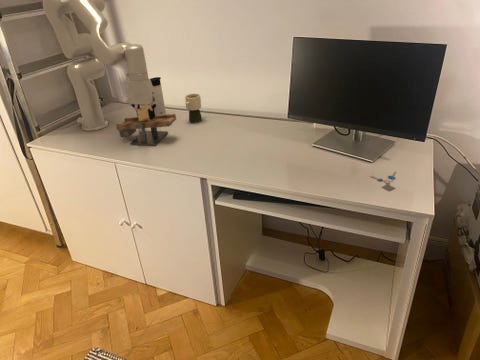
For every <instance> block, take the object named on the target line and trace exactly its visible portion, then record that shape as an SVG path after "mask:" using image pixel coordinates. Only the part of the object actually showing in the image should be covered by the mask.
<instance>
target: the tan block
mask: <svg viewBox="0 0 480 360" xmlns="http://www.w3.org/2000/svg"><path fill="white" fill-rule="evenodd" d="M149 111H150V109H149V107H148V105H140V107H139V108H138V109H137V112H136V114H137V113H138V116H137V117H138V118H139V122H151V121H153V120H154V119H155V118H154V119H152V120H151V119H150V114H149Z"/></svg>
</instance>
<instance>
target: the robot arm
mask: <svg viewBox="0 0 480 360" xmlns="http://www.w3.org/2000/svg"><path fill="white" fill-rule="evenodd" d="M42 8H43V13H44V14H45V16H46V18H47V20H48V21H49V23H50V24H51V26H52V27H53V30H54V33H55V35H56V38H57V40H58V43H59V45H60V49H61V51H62V53H63V55H64V56H65V57H66V58H67V59H71V60H72V59H74V60H75V59H79V58H82V57H86V58H85V59H80V60H76V61H73V62H71V63H70V64H69V65H68V66H67V68H66V74H67V76H68V78H69V80H70V82H71V85H72V86H73V89H74V93H75V96H76V100H77V103H78V106H79V107H78V108H79V111H80V114H81V117H78V118H77V123H79V124H82V125H81V129H82V130H83V131H85V132H92V131H98V130H99V131H100V130H102V129H104V128H107V127H108V125H109V121H108V120H106V119H105V118H104V113H103V111H102V106H101V102H100V98H99V95H98V92H97V91H98V90H97V89H96V87H95V86H94V85H93V84H92V83H91V82H90V81H93V80H96V79H99V78H101V77H103V76H104V75H105V74H106V67H105V65H106V66H110V67H114V66H118V65H120V64H124V63H126V68H127V72H128V73H126V78H128V81H127V87H128V97H129V98H128V99H127V101H126V102H127V104H129V105H130V106H131V107H132V108H133V109H134V111H136V112H135V113H136V117H138V113H137V109H138V108H139V107H141V106H148V107H149V109H150V111H149V114H150V119H151V120H152V119H154V118H155V111H154V109H155V107H156V106H157V105H158V104H159V103H160V101H159V100H158V99H157V97H156V96H155V93H154V89H153V86H152V83H151V80H150V79H151V78H149V74H148V67H147V63H146V62H147V61H146V57H145V51H144V47H143V45H142V44H138V43H135V44H133V43H129V42H120V43H115V44H112V45H107V43H105V41H104V40H103V38H102V37H101V34H102V33H104V32H105V31H106V29H107V27H108V23H109V21H108V19H107V18H106V16H105V15H104V14H103V13H102V12H103V11H104V10H105V8H106V4H105V0H42ZM73 13H74V14H75V15H76V17H77V18H78V19H79V20H80V21H81V23H82V24H83V25H84V26H85V27H86V29H87V30H88V31H89V33H87V32H83V33H78V32H77V30H76V27H75V25H74V23H73V22H72V20H71V19H70V18H69V17H68V16H66V15H67V14H73ZM154 101H155V104H153V102H154ZM138 119H139V118H138Z"/></svg>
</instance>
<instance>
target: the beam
mask: <svg viewBox="0 0 480 360" xmlns="http://www.w3.org/2000/svg"><path fill="white" fill-rule="evenodd" d="M123 120H124V121H123V122H122V123H117V124H115V127H116V130H117V131H118V132H119V135H120V139H123V138H125V139H126V138H130V137H132V136H133V134H135V133H136V132H137V129H138V125H137V124H138V123H144V127H145V129H151V128H153V127H157V128H163V127H165V128H167V127H170V126H171V125H172V124H173V123H174V122H175V121H177V116H176V113H173V114H166V115H156V116H155V119H154V120H153V121H151V122H139V119H138V116H132V117H125V118H124V119H123Z"/></svg>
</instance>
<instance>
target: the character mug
mask: <svg viewBox="0 0 480 360" xmlns="http://www.w3.org/2000/svg"><path fill="white" fill-rule="evenodd" d="M184 97H185V108H186V110H189V111H188V121H189V122H190V123H199V122H202V121H203V120H202V119H203V117H202V114H201V110H200V109H201V108H202V100H201V99H202V98H201V94H199V93H189V94H186V95H185V96H184Z"/></svg>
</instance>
